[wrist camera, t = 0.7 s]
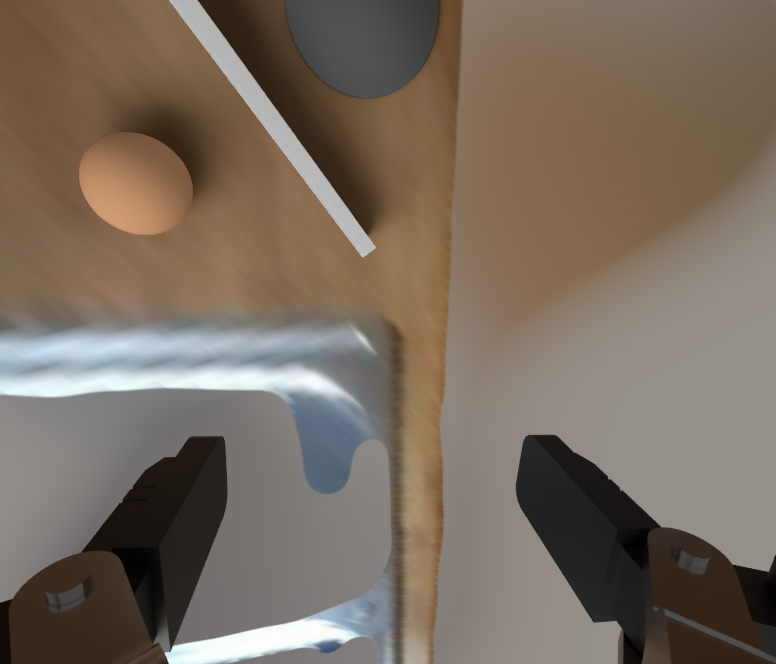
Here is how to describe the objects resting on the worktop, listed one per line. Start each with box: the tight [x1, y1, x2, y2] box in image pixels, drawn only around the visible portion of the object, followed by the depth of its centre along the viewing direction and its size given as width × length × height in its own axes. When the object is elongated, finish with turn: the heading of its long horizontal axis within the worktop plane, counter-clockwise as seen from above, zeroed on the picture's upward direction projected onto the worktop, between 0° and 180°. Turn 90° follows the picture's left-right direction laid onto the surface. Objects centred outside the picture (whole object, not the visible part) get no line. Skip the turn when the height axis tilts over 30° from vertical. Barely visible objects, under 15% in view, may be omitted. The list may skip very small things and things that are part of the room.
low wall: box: [169, 0, 376, 257], centre depth 25 cm, size 24×1×4 cm, turn 35°
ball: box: [79, 132, 193, 235], centre depth 25 cm, size 6×6×6 cm
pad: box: [285, 0, 439, 98], centre depth 26 cm, size 10×10×1 cm
